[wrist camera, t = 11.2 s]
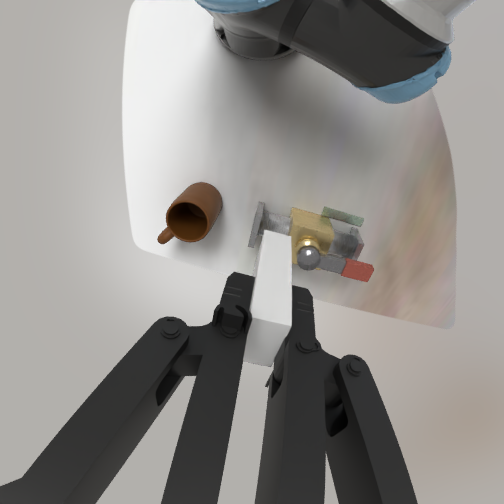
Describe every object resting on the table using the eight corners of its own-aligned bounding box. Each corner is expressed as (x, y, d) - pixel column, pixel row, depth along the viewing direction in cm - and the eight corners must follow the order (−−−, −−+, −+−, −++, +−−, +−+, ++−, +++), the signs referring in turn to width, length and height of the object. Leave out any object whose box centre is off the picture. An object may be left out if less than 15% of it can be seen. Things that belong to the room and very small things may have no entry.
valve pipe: (262, 189, 47) (257, 208, 39) (363, 218, 47) (376, 241, 40) (251, 232, 51) (245, 257, 44) (346, 257, 52) (355, 284, 44)
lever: (373, 262, 41) (375, 267, 40) (364, 279, 43) (366, 284, 42) (300, 242, 41) (301, 247, 40) (293, 261, 43) (294, 267, 42)
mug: (186, 236, 54) (169, 262, 46) (161, 208, 51) (140, 230, 43) (231, 205, 49) (220, 228, 41) (205, 172, 46) (188, 189, 38)
